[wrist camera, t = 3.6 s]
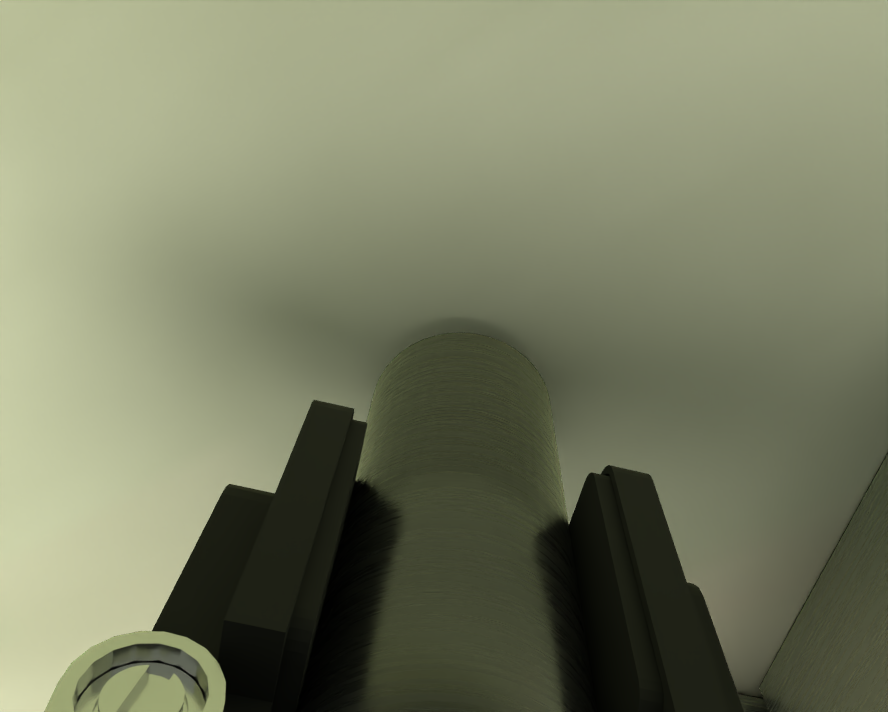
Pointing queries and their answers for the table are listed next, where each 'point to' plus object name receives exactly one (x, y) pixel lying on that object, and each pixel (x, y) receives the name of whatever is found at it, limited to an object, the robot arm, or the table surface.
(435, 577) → the hinge pin
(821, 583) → the hinge base
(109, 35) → the table surface
